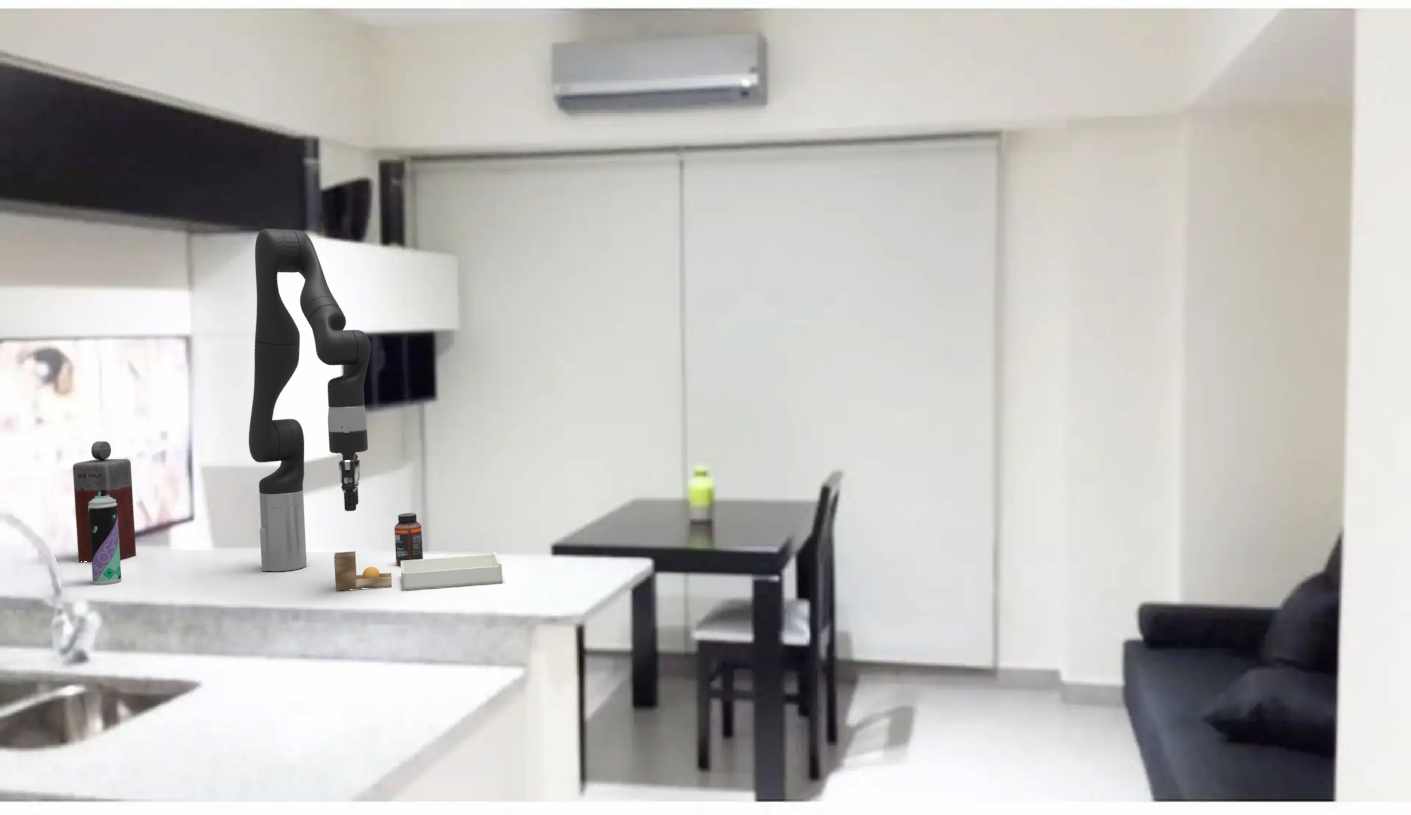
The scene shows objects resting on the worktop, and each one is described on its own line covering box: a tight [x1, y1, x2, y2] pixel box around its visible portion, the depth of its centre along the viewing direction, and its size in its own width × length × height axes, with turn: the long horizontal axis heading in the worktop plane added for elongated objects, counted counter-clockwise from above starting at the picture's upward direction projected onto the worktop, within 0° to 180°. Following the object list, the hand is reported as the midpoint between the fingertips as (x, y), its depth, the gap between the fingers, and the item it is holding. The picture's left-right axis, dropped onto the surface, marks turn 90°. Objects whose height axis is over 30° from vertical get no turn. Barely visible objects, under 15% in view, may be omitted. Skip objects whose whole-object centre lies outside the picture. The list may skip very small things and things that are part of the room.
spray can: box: [88, 490, 122, 586], centre depth 256 cm, size 6×6×20 cm
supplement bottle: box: [393, 512, 424, 567], centre depth 269 cm, size 6×6×11 cm
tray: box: [400, 551, 503, 592], centre depth 251 cm, size 20×14×4 cm
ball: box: [362, 566, 380, 579], centre depth 247 cm, size 3×3×3 cm
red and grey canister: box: [72, 440, 137, 563], centre depth 283 cm, size 9×11×28 cm
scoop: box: [333, 551, 393, 592], centre depth 246 cm, size 11×5×7 cm, turn 105°
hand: (351, 507), depth 244 cm, fingers open, 8 cm apart
